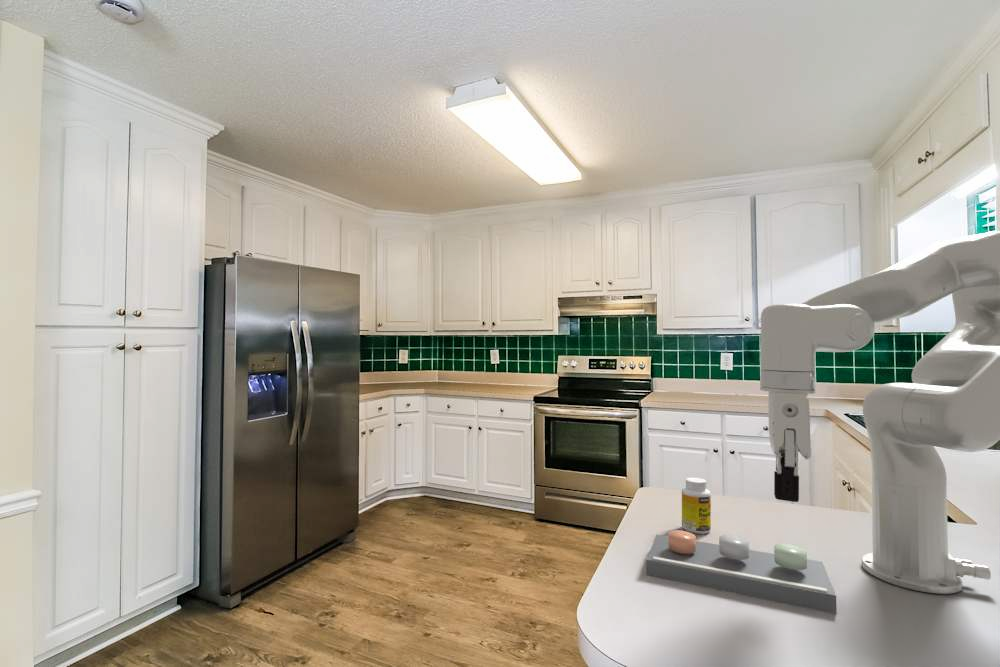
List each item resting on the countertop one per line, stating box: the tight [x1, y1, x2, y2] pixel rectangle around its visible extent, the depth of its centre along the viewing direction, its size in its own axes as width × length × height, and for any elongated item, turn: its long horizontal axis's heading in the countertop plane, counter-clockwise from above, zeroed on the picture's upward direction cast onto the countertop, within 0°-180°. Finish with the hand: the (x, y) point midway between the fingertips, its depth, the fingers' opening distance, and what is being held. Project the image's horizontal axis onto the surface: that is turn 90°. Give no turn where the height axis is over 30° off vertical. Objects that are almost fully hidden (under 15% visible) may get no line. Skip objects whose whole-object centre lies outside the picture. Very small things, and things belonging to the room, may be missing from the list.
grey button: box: [718, 534, 750, 560], centre depth 79 cm, size 4×4×2 cm
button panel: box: [645, 534, 837, 614], centre depth 79 cm, size 26×12×3 cm, turn 64°
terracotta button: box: [667, 530, 697, 554], centre depth 83 cm, size 4×4×2 cm
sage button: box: [773, 543, 808, 570], centre depth 76 cm, size 4×4×2 cm
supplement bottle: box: [681, 477, 712, 535], centre depth 99 cm, size 6×6×10 cm
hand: (786, 499), depth 76 cm, fingers closed
